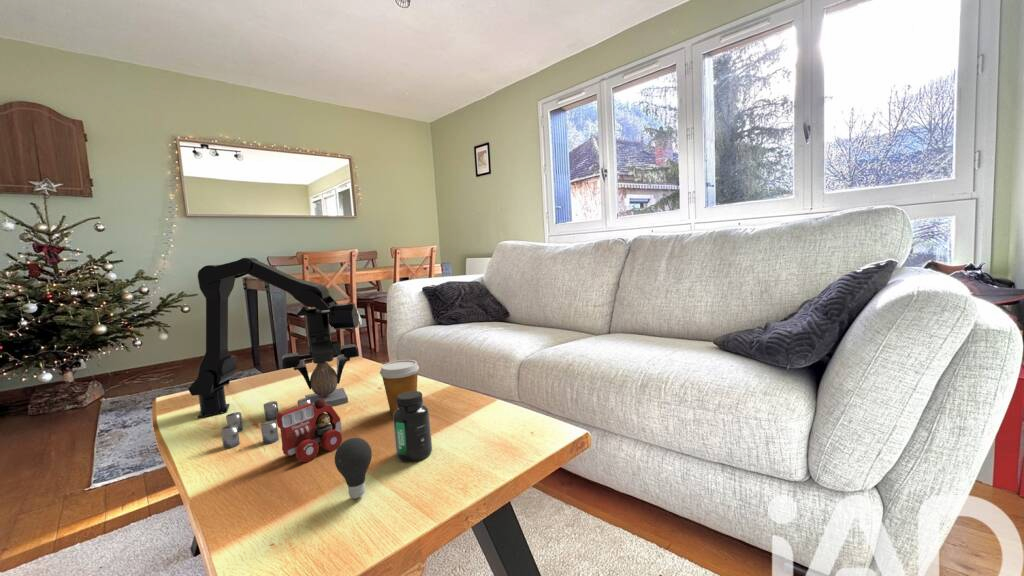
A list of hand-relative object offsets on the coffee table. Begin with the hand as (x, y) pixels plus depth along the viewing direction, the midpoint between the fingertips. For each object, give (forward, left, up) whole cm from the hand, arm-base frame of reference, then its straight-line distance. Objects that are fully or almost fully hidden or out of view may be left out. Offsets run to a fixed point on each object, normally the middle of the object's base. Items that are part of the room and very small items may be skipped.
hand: (324, 386), depth 114 cm
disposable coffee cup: (+21, +16, -5) cm, 27 cm away
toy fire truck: (+31, -5, -5) cm, 32 cm away
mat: (0, 0, -4) cm, 4 cm away
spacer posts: (+12, -13, -4) cm, 18 cm away
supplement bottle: (+45, +12, -5) cm, 47 cm away
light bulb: (+54, 0, -5) cm, 54 cm away
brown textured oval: (0, 0, -2) cm, 2 cm away
